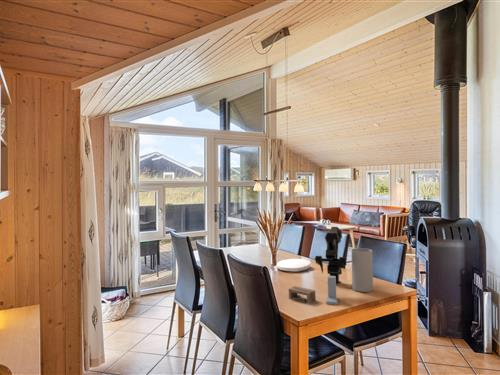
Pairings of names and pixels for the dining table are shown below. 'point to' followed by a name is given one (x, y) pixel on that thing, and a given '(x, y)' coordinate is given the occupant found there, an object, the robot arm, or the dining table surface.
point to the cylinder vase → (362, 270)
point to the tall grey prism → (331, 291)
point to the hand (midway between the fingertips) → (329, 273)
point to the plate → (293, 265)
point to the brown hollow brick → (304, 291)
